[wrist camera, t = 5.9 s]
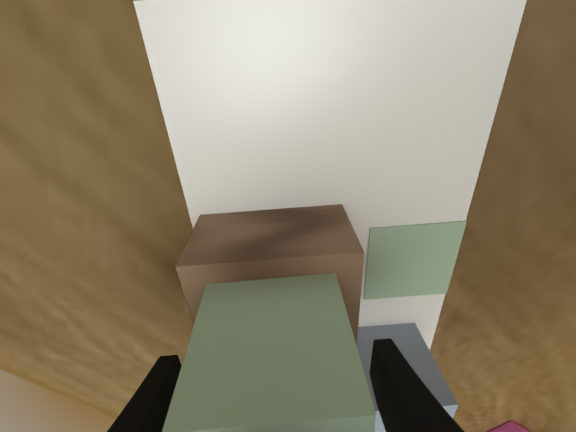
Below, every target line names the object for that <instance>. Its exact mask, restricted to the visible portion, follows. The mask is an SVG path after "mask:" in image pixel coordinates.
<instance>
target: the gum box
mask: <svg viewBox="0 0 576 432" xmlns="http://www.w3.org/2000/svg"><path fill="white" fill-rule="evenodd" d="M488 432H530V431H528V430H526V429H525V428H523V427H522V426H520V425H518V424H517V423H515V422H513V421H510V422H507V423H505V424H503V425H501V426H499V427H497V428H494V429H492V430H490V431H488Z"/></svg>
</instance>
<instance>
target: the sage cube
mask: <svg viewBox="0 0 576 432" xmlns="http://www.w3.org/2000/svg"><path fill="white" fill-rule="evenodd" d="M375 421H376V412H375V409H374V405H373V402H372V398H371V395H370V391H369V388H368V384H367V381H366V377H365V374H364V370H363V367H362V363H361V360H360V356H359V353H358V349H357V346H356V342H355V339H354V335H353V332H352V328H351V325H350V321H349V318H348V314H347V311H346V307H345V304H344V300H343V297H342V293H341V290H340V286H339V283H338V279H337V276H336V273H331V274H320V275H308V276H296V277H285V278H273V279H262V280H250V281H239V282H227V283H216V284H206V286H205V290H204V293H203V296H202V300H201V303H200V306H199V310H198V313H197V316H196V320H195V323H194V326H193V330H192V333H191V336H190V340H189V343H188V346H187V350H186V353H185V356H184V360H183V363H182V366H181V370H180V373H179V376H178V380H177V383H176V386H175V390H174V393H173V396H172V400H171V403H170V406H169V410H168V413H167V416H166V420H165V423H164V426H163V430H162V432H374V428H375Z"/></svg>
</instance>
